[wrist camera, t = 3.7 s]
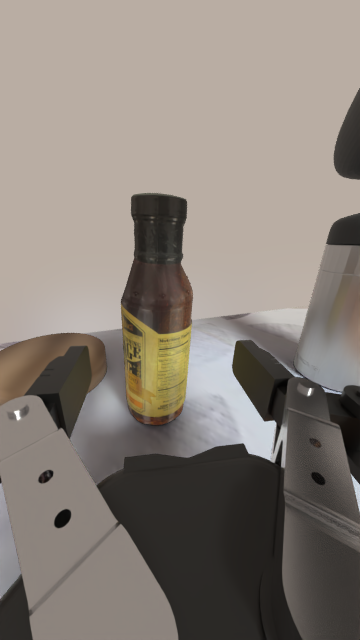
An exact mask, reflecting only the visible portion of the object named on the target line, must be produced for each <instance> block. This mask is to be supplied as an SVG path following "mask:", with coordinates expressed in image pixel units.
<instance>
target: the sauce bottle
mask: <svg viewBox="0 0 360 640" xmlns="http://www.w3.org/2000/svg"><path fill="white" fill-rule="evenodd" d="M186 214H187V201H186V199H184V198H181V197H177V196H173V195H167V194H158V193H143V194H135V195H133V196H132V197H131V215H132V217H133V220H134V236H135V251H134V261H133V264H132V267H131V271H130V275H129V278H128V281H127V284H126V288H125V290H124V293H123V297H122V299H121V314H122V330H123V349H124V364H125V379H126V397H127V402H128V406H129V409H130V411H131V413H132V414H133V416H134V417H135V418H136V419H137V420H138V421H139V422H140V423H143V424H150V425H162V424H166V423H168V422H170V421H172V420H174V419H175V418H176V417H177V416H179V415H180V413H181V411H182V408H183V403H184V400H185V395H186V384H187V373H188V362H189V350H190V339H191V327H192V319H191V311H192V301H193V292H192V287H191V285H190V282H189V280H188V277H187V276H186V274H185V272H184V270H183V268H182V266H181V260H182V258H183V254H182V239H183V226H184V224H185V221H186V218H187V217H186V216H187V215H186Z"/></svg>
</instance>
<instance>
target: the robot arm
mask: <svg viewBox="0 0 360 640" xmlns="http://www.w3.org/2000/svg"><path fill="white" fill-rule="evenodd" d="M334 166H335V169H336V171H337V172H338V173H339V175H341V176H343V177H346V178H349V179H358V180H359V179H360V88H359V90H358V92H357V94H356V96H355V98H354V100H353V102H352V104H351V106H350V108H349V110H348V112H347V115H346V117H345V120H344V122H343V124H342V127H341V129H340V132H339V135H338V138H337V141H336V146H335V151H334ZM326 244H328V245H326V246H325V250H324V254H323V257H322V261H321V264H320V269H319V272H318V275H317V279H316V283H315V287H314V290H313V293H312V297H311V301H310V304H309V308H308V311H307V315H306V319H305V322H304V326H303V329H302V333H301V337H300V340H299V344H298V347H297V351H296V355H295V359H294V366H295V368H296V369H297V370H298V371H299V372H300V373H301V374H302V375H303V376H305V377H306V378H308V379H310V380H308V379H305V378H300V377H294V376H293V375H292V374H291V373H290V372H289V371H288V370H287V369H286V368H285V367H284V366H283V365H282V364H280V363H279V362H278V361H277V360H276V359H275V358H274V357H273V356H272V355H271V354H270V353H268V352H267V351H265V350H263V349H261V348H259V347H258V346H257V345H256V344H255V343H254V342H253V341H251V340H239V341H237V342H236V345H235V351H234V357H233V364H232V369H233V373H234V375H235V377H236V379H237V380H238V382H239V383H240V385H241V386H242V388H243V389H244V391H245V392H246V394H247V396H248V397H249V399H250V400H251V402H252V403H253V405H254V406H255V408H256V409H257V411H258V413H259V414H260V416H261V417H262V419H263V420H264V421H273V420H275V422H276V426H275V430H274V438H273V446H272V453H271V461H269V460H267V459H265V458H262V457H260V456H256V455H252V454H248V452H247V450H246V447H245V445H244V443H243V444H234V445H226V446H218V447H214V448H212V449H209V450H207V451H205V452H202V453H200V454H197V455H195V456H193V457H190V458H183V457H176V456H169V455H161V454H150V455H142V456H133V457H125V460H124V469H122V470H120V471H117V472H116V473H114V474H112V475H110V476H109V477H107V478H106V479H104V480H103V481H101V482H100V483H99V484H98V485H97V486H96V485H95V483H94V481H93V480H92V478H91V476H90V474H89V473H88V471H87V469H86V468H85V466H84V464H83V462H82V461H81V459H80V457H79V455H78V454H77V452H76V450H75V449H74V447H73V445H72V443H71V442H70V440H69V439H70V436H71V434H72V431H73V429H74V426H75V423H76V421H77V418H78V415H79V413H80V410H81V408H82V405H83V402H84V400H85V397H86V394H87V392H88V389H89V387H90V384H91V379H92V371H91V363H90V356H89V349H88V346H70V347H69V349H68V350H67V352H66V353H65V355H64V356H58V357H57V358H55V359H54V360H52V361H51V362H49V364H48V365H47V366H46V368H45V369H44V371H42V373H41V374H40V376H39V377H38V378H37V379H36V380H35V382H34V383H33V384H32V386H31V387H30V388H29V389H28V391H27V392H26V393H25V395H24V396H21V397H18V398H15V399H12V400H10V401H8V402H6V403H5V404H3V405H2V406H0V483H2V485H3V490H4V495H5V499H6V504H7V508H8V513H9V518H10V522H11V527H12V531H13V536H14V541H15V545H16V550H17V554H18V559H19V564H20V568H21V573H22V574H21V575H20V576H19V578H18V579H17V580H16V581H15V582H14V584H13V585H12V586H11V587H10V588H9V590H8V591H7V592H6V593H5V595H4V596H3V597H2V598H1V599H0V640H360V512H359V508H358V504H357V499H356V495H355V490H354V486H353V482H352V477H351V474H352V476H353V477H354V478H355V479H356V480H357V482H358V483H359V484H360V213H358V214H354V215H351V216H347V217H344V218H341V219H339V220H337V221H336V222H335V223H334V224H333V225H332V227H331V229H330V232H329V235H328V239H327V243H326ZM318 384H319V385H321V386H324V387H327V388H329V389H333V390H336V391H341V392H342V394H334V393H328V392H325V391H324V389H323V388H322V387H321V386H319V385H318Z"/></svg>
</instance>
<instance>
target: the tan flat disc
mask: <svg viewBox="0 0 360 640" xmlns="http://www.w3.org/2000/svg"><path fill="white" fill-rule="evenodd" d="M70 346H88V349H89V356H90V363H91V371H92V379H91V384H90V387H89V389H88V392H87V393H89V392H90V391H91V390H93V389H94V388H95V387H96V386H97V385H98V384H99V383H100V382H101V381H102V379H103V378H104V376H105V374H106V370H107V364H106V354H105V346H104V344H103V342H102V341H101V340H100V339H98V338H96V337H94V336H91V335H87V334H80V333H61V334H51V335H46V336H40V337H36V338H32V339H28V340H25V341H22V342H19V343H17V344H14V345H12V346H9V347H7V348H5V349H3V350H1V351H0V406H2V405H3V404H5V403H6V402H8V401H10V400H12V399H15V398H18V397H21V396H24V395H25V393H26V392H27V391H28V389H29V388H30V387H31V386H32V384H33V383H34V382H35V380H36V379H37V378H38V377H39V376H40V374H41V373H42V371H44V369H45V368H46V366H47V365H48V364H49V362H51V361H52V360H54V359H55V358H57V357H58V356H64V355H65V353H66V352H67V350H68V349H69V347H70Z"/></svg>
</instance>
